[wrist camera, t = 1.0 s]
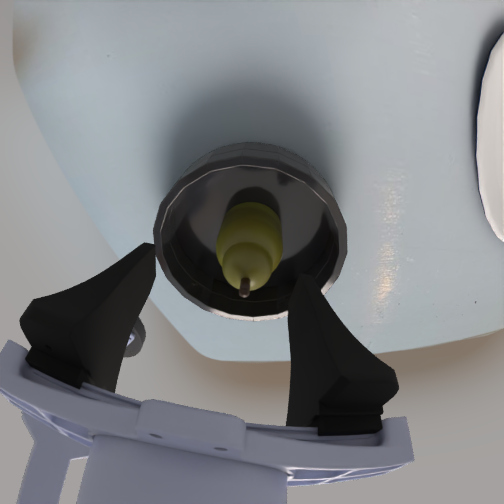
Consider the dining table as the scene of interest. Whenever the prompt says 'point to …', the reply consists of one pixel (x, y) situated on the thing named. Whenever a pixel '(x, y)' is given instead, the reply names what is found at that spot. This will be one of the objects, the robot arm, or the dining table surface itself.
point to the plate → (492, 139)
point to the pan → (240, 191)
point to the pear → (249, 245)
